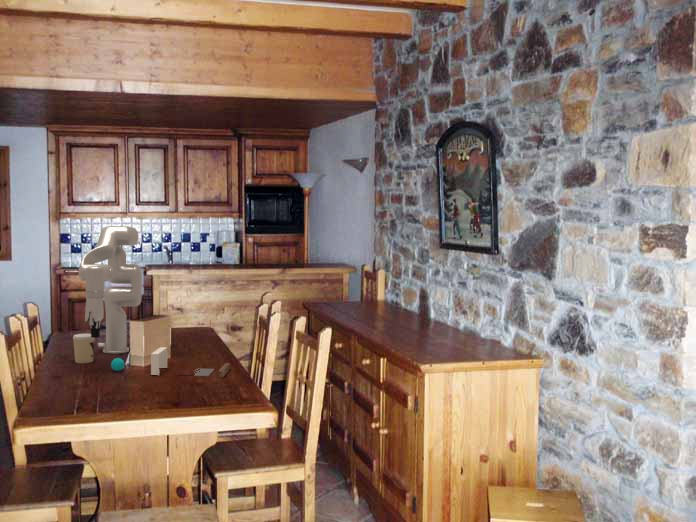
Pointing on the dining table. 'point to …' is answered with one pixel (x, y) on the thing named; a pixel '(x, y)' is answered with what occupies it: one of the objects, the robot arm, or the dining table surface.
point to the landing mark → (203, 372)
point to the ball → (117, 364)
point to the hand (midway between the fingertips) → (95, 337)
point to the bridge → (158, 360)
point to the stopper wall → (224, 370)
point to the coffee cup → (83, 348)
